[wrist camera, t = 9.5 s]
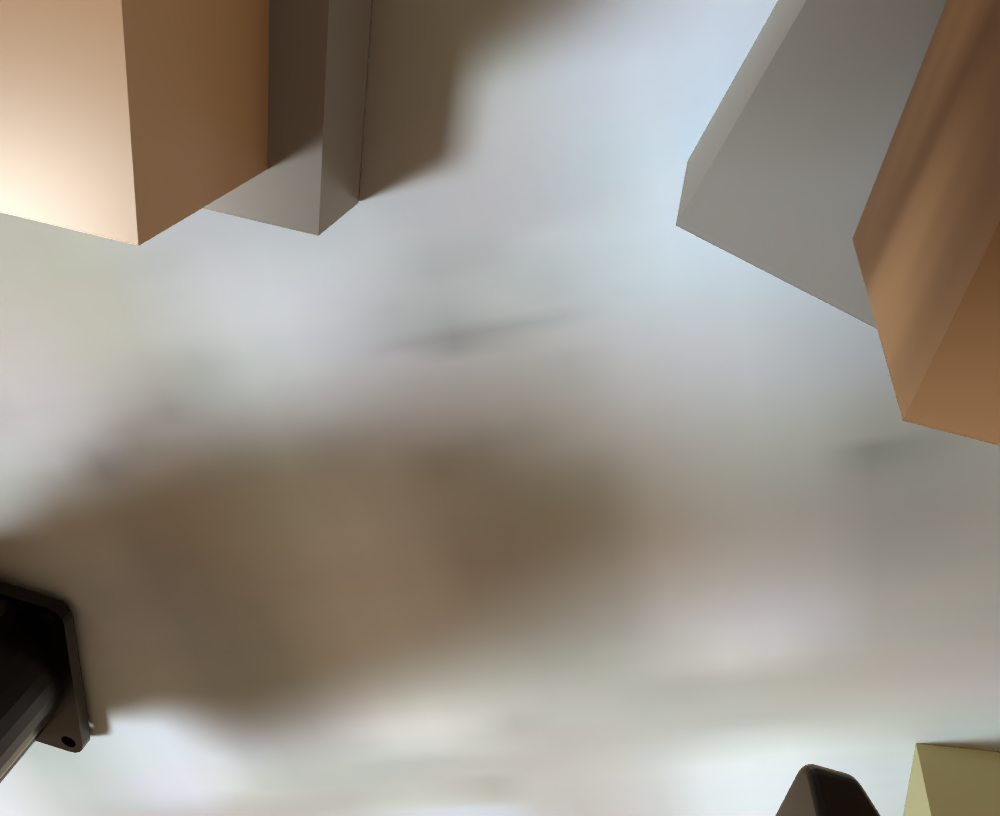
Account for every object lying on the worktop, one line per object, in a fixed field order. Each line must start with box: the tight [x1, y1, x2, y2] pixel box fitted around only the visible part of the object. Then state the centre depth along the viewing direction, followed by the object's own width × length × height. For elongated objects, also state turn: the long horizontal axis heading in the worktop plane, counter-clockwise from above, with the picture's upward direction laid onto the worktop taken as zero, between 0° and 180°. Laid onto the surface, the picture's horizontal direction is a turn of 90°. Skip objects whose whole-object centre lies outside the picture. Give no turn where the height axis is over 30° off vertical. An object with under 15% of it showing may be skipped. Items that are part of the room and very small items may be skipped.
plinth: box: [0, 0, 372, 246], centre depth 14 cm, size 6×6×6 cm
